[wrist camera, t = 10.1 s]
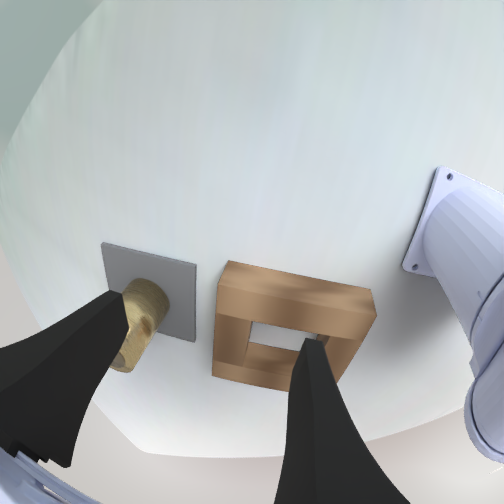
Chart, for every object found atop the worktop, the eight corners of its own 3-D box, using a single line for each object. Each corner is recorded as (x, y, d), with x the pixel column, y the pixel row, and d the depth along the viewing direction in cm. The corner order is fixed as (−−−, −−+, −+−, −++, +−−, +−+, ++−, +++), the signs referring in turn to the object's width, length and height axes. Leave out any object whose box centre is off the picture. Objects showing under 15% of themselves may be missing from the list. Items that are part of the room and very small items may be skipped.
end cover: (175, 294, 23) (135, 355, 17) (163, 324, 25) (130, 381, 19) (131, 269, 23) (84, 322, 17) (125, 301, 25) (85, 353, 19)
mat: (196, 264, 22) (194, 267, 21) (195, 339, 26) (194, 342, 26) (103, 242, 22) (100, 244, 22) (117, 315, 27) (115, 317, 27)
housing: (370, 289, 20) (377, 315, 18) (327, 372, 26) (327, 397, 23) (228, 260, 21) (217, 284, 18) (219, 352, 27) (211, 375, 24)
